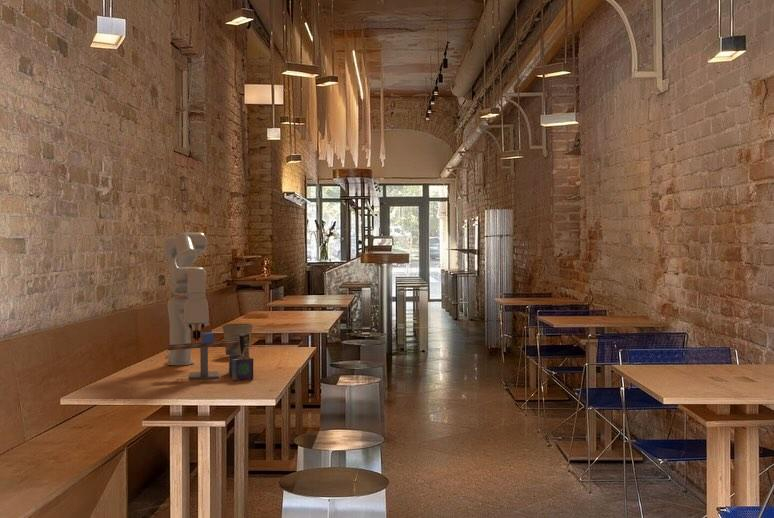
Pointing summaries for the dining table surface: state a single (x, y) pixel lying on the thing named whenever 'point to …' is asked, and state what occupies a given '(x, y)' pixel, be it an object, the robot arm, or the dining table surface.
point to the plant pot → (236, 329)
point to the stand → (204, 366)
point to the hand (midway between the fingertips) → (196, 339)
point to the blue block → (208, 338)
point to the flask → (242, 369)
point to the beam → (230, 346)
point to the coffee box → (241, 344)
